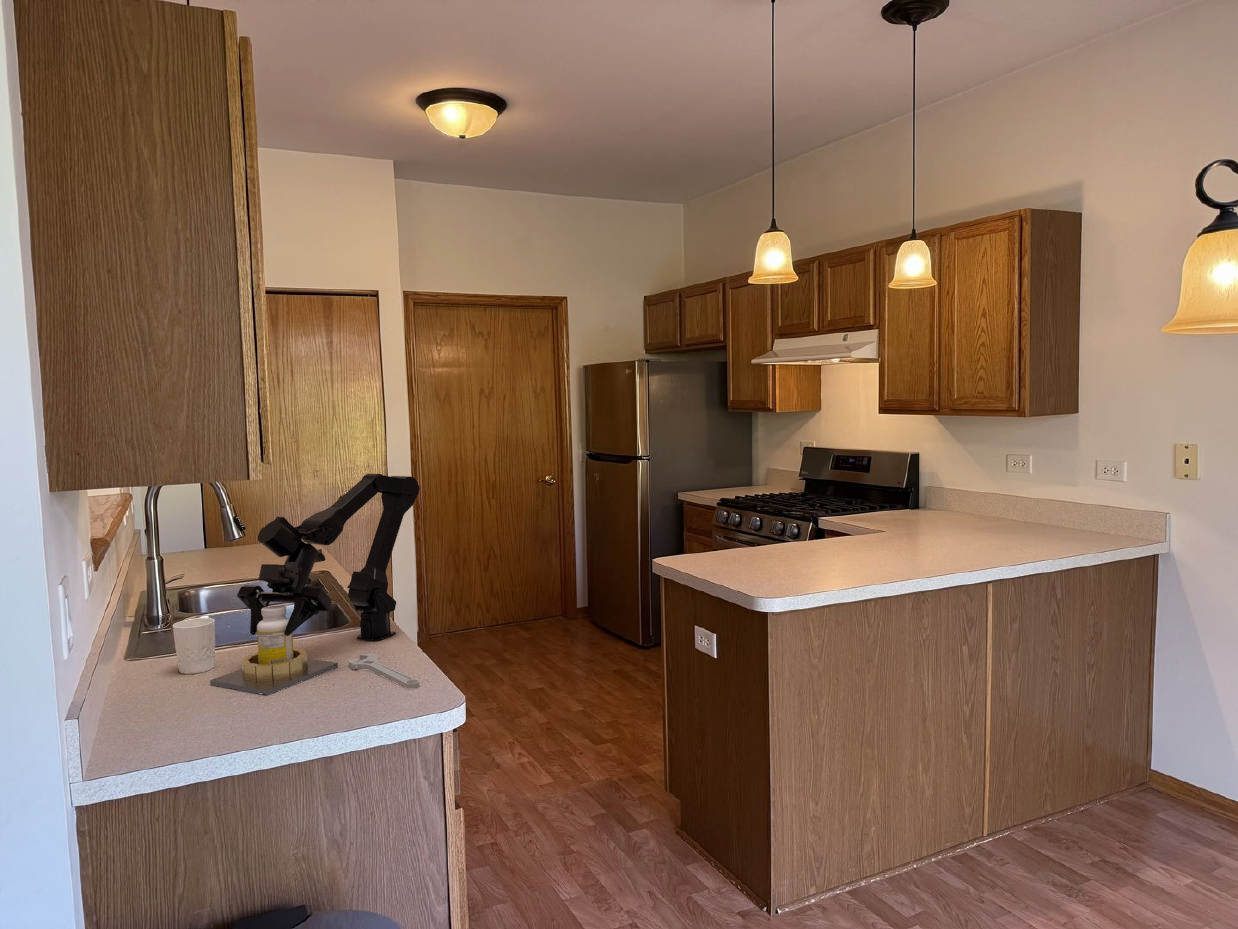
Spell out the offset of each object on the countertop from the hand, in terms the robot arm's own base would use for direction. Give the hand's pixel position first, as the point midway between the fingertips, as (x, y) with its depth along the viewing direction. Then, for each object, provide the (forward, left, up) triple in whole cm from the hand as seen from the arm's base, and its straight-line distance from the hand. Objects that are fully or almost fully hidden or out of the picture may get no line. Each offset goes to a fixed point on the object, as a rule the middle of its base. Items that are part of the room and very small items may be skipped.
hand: (269, 634), depth 172 cm
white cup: (+2, -20, -9) cm, 22 cm away
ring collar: (-1, 0, -9) cm, 9 cm away
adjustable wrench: (-10, +19, -10) cm, 24 cm away
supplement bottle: (-1, 0, -8) cm, 8 cm away
